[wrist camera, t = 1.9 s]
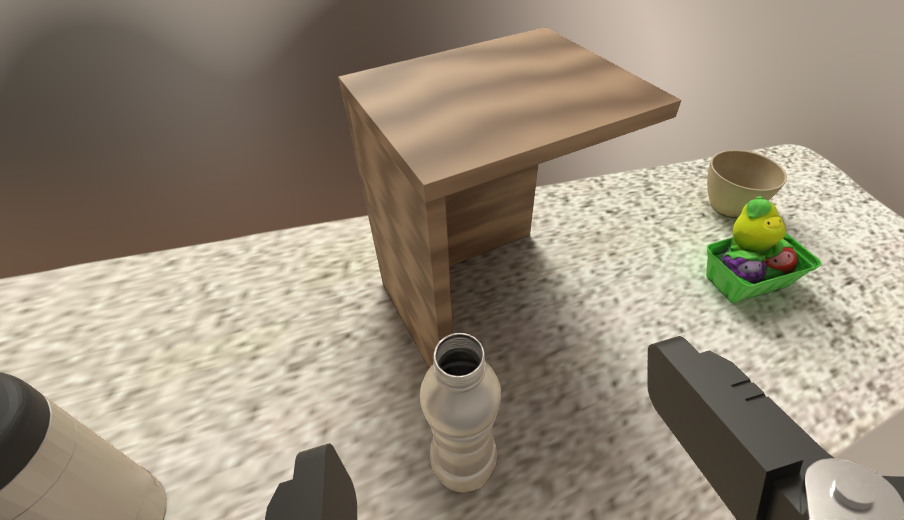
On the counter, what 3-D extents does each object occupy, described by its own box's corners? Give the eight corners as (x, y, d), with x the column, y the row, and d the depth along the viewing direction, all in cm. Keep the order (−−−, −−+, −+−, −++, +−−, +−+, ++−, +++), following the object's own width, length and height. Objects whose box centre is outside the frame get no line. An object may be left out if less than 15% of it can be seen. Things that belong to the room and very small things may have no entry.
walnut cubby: (607, 317, 58) (681, 100, 38) (444, 396, 52) (423, 185, 31) (524, 228, 70) (545, 27, 50) (382, 283, 64) (338, 76, 43)
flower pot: (709, 229, 69) (727, 190, 64) (685, 188, 76) (700, 150, 71) (777, 227, 69) (801, 188, 64) (746, 186, 76) (766, 148, 71)
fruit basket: (730, 314, 58) (771, 250, 50) (685, 265, 64) (715, 201, 56) (804, 291, 60) (855, 226, 52) (754, 246, 66) (793, 181, 58)
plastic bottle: (502, 440, 48) (514, 324, 34) (487, 508, 44) (494, 409, 29) (442, 424, 49) (430, 307, 35) (422, 489, 45) (398, 385, 31)
